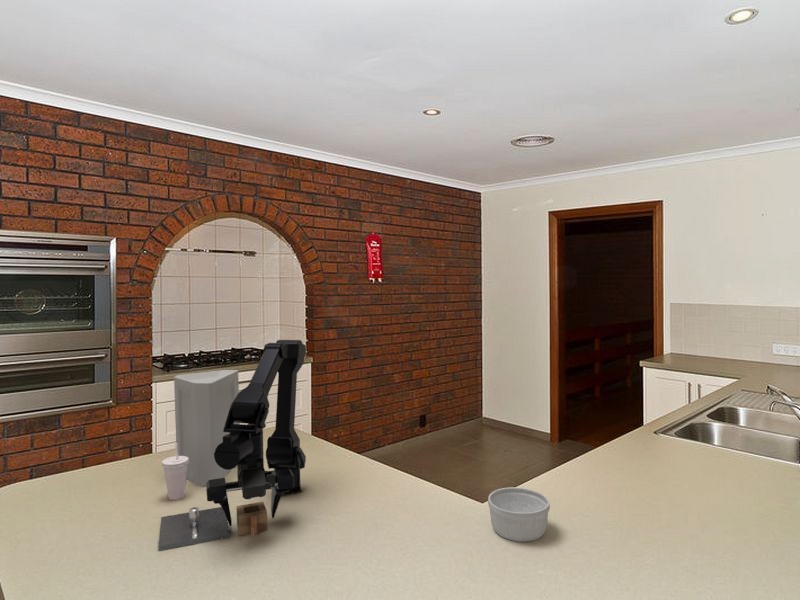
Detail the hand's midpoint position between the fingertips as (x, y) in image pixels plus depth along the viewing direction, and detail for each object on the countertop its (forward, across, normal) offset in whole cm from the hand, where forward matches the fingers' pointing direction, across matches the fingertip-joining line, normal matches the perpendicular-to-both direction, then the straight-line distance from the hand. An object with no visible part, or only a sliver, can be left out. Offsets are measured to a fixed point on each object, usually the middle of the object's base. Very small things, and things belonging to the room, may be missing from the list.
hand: (251, 521), depth 117 cm
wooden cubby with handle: (+1, 0, 0) cm, 1 cm away
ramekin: (+2, +54, -25) cm, 60 cm away
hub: (+1, -12, +4) cm, 13 cm away
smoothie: (+1, -16, +24) cm, 29 cm away
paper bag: (+1, -9, +39) cm, 40 cm away
